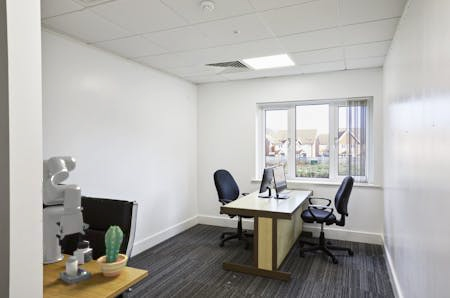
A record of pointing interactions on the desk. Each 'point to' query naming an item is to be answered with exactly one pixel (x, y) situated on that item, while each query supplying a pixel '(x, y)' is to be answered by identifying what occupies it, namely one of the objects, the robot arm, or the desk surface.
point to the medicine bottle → (83, 252)
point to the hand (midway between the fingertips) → (71, 244)
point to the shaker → (71, 267)
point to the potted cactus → (112, 253)
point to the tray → (76, 279)
